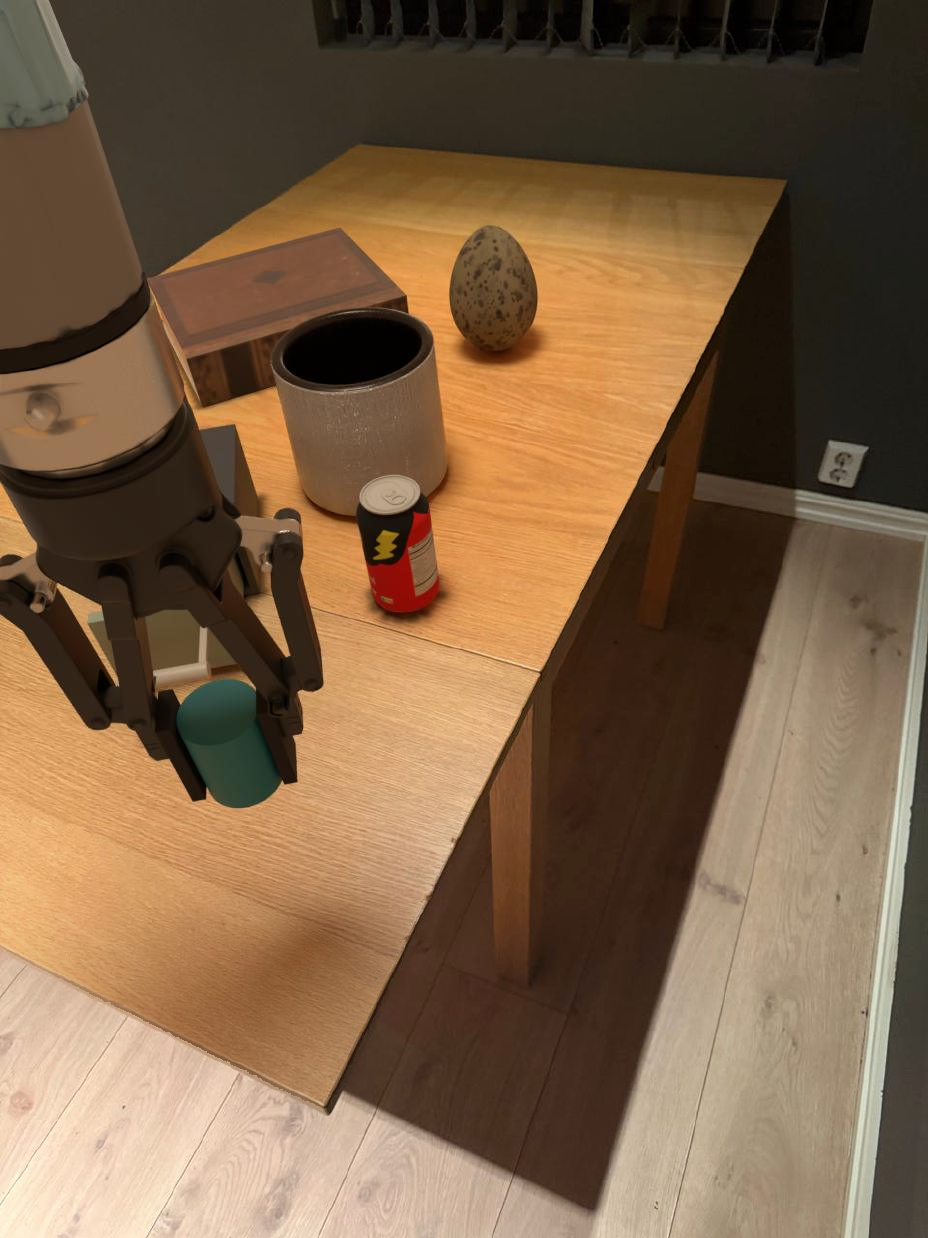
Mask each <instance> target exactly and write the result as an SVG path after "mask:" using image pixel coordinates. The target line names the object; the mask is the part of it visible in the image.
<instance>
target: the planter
mask: <svg viewBox="0 0 928 1238" xmlns="http://www.w3.org/2000/svg"><path fill="white" fill-rule="evenodd" d="M434 338H435V337H434V334H433V331H432V330H431V328H429V326H428V325H427V324H426V323H425V322H424V321H423V320H421V319H420V318H418V317H417V316H415V315H413V314H410V313H409V314H408V313H405V312H401V311H398V310H393V309H387V308H376V307H362V308H350V309H343V310H338V311H333V312H329V313H326V314H322V315H319V316H316V317H314V318H311V319H309V320H307V321H304V322H302V323H301V324H299V325H297V326H295V327H294V328H292V329H291V330H289V331H288V332H287V333H286V334H284V335H283V336H282V337H281V338H280V339H279V340H278V342H277V343H276V344H275V346H274V348H273V350H272V353H271V358H270V361H271V367H272V371H273V375H274V378H275V382H276V385H275V386H276V391H277V394H278V398H279V402H280V406H281V410H282V414H283V417H284V422H285V428H286V432H287V435H288V441H289V444H290V449H291V452H292V457H293V461H294V464H295V469H296V473H297V477H298V480H299V481H298V482H299V483H300V485H301V488H302V490H303V492H304V494H305V495H306V496H307V498H308V499H309V500H310V501H311V502H313V503H314V504H315V505H317V506H319V507H321V508H322V509H324V510H327V511H330V512H333V513H336V514H338V515H342V516H350V517H356V510H357V506H358V504H359V502H360V492H361V490H362V489H363V487H364V486H365V485H366V484H367V483H369V482H370V481H372V480H374V479H376V478H379V477H382V476H387V475H401V476H406V477H409V478H411V479H413V480H414V481H415V482H416V483H417V484H418V485H419V488H420V492H421V493H422V494H423V495H424V496H425V497H426V498H427V497H428V496H430V495H431V494H432V493H433V492H434V491H435V490H436V489H437V488H438V487H439V485H440V484H441V483H442V481H443V480H444V478H445V475H446V473H447V470H448V469H447V468H448V446H447V438H446V432H445V431H446V430H445V423H444V416H443V405H442V399H441V391H440V382H439V374H438V373H439V372H438V365H437V364H438V363H437V356H436V355H437V354H436V346H435V339H434Z"/></svg>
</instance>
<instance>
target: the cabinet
mask: <svg viewBox="0 0 928 1238" xmlns="http://www.w3.org/2000/svg"><path fill="white" fill-rule="evenodd" d="M199 430H200V433H201V436H202V439H203V442H204V445H205V448H206V451H207V454H208V457H209V460H210V462H211V465H212V468H213V471H214V474H215V477H216V480H217V483H218V486H219V488H220V490H221V491H222V493H223V494H224V495H225V496H226V497H227V498H228V499H229V500H230V501H231V502H233V503H234V504H235V505H236V506H237V508H238V509H239V511H240V513H241V515H243V516H251V517H259V518H260V514H259V513H260V512H259V497H258V493H257V491H256V488H255V487H256V486H255V484H254V481H253V478H252V475H251V471H250V467H249V464H248V461H247V458H246V454H245V451H244V448H243V445H242V442H241V438H240V435H239V432H238V428H237V426H236V423H231V424H226V425H225V424H224V425H221V426H213V427H207V428H201V429H200V428H199ZM237 552H238V555H239V558H240V561H241V564H242V567H243V569H244V597H245V596H249V595H254V594H260V593H261V569H260V566H259V565H257V564H256V563H255V562H254V560H253V555H252V553H251V551H250V550H248V549H247V548H245V547H241V546H239V548H238V550H237Z"/></svg>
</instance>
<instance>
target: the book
mask: <svg viewBox="0 0 928 1238" xmlns="http://www.w3.org/2000/svg"><path fill="white" fill-rule="evenodd" d="M146 278H147V282H148V285H149V288H150V290H151V293H152V295H153V297H154V299H155V302H156V305H157V308H158V310H159V313H160V316H161V319H162V323H163V326H164V328H165V331H166V334H167V337H168V340H169V343H170V345H171V347H172V349H173V350H174V352H175V354H176V357H177V358H178V361H179V362H180V365H181V367H182V368H183V370H184V372H185V374H186V377H187V378H188V380H189V382H190V385H191V386H192V388H193V390H194V392H195V395H196V397H197V398H198V400H199V402H200V404H201V407H202V408H205V407H209V406H212V405H214V404H218V403H221V402H224V401H228V400H231V399H234V398H238V397H241V396H244V395H247V394H251V393H254V392H258V391H260V390H263V389H267V388H270V387H273V386H276V382H275V378H274V375H273V371H272V367H271V361H270V358H271V353H272V350H273V348H274V346H275V344H276V343H277V342H278V340H279V339H280V338H281V337H282V336H283V335H284V334H286V333H287V332H288V331H289V330H291V329H292V328H294V327H295V326H297V325H299V324H301V323H302V322H304V321H307V320H309V319H311V318H314V317H316V316H319V315H322V314H326V313H329V312H333V311H338V310H343V309H350V308H362V307H376V308H387V309H393V310H398V311H401V312H405V313H408V314H410V311H409V304H408V303H409V302H408V297H407V293H405V291H404V290H403V289H401V288H400V286H399V285H397V283H395V281H394V280H393V279H392V278H391V277H390V276H389V275H388V274H387V273H385V272H384V271H383V269H382V268H381V267H380V266H379V265H378V264H377V263H376V262H375V261H374V260H373V259H372V258H371V257H370V256H369V255H368V254H367V253H366V252H365V251H364V250H363V249H362V248H361V247H360V246H359V245H358V244H357V243H356V241H354V239H352V238H351V237H350V235H349V234H347V233H346V232H345V230H343V228H341V227H337V228H333V229H330V230H325V231H322V232H318V233H314V234H310V235H306V236H303V237H298V238H295V239H291V240H287V241H283V242H280V243H276V244H272V245H269V246H264V247H261V248H257V249H254V250H249V251H246V252H242V253H239V254H235V255H231V256H227V257H224V258H219V259H216V260H212V261H207V262H205V263H201V264H196V265H193V266H188V267H185V268H181V269H178V270H174V271H169V272H167V273H163V274H159V275H154V276H151V277H146Z"/></svg>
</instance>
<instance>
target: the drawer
mask: <svg viewBox="0 0 928 1238" xmlns="http://www.w3.org/2000/svg"><path fill="white" fill-rule="evenodd" d="M227 569H228V571H229V573H230V577H231V580H232V582H233V584H234V585H235V587H236V588H237V590H238V591H239V592H240V594H241V595H242V596H243V598H244V597H245V596H244V569H243V567H242V564H241V561H240V558H239V555H238V552H236V554H235V555H234V557H233V559H232V561H231V563H230V565H229V567H228V568H227ZM244 599H245V598H244ZM145 619H146V626H147V633H148V640H149V647H150V654H151V660H152V667H153V674H154V676H156V685H155V689H160V688H165V687H172V686H176V685H182V684H187V683H192V682H193V683H194V682H199V681H203V680H209V679H211V678H212V669H215V668H221V667H226V666H232V665H237V663H236V662H235V661H234V660H233V658H232V657H231V656H230V654H229V653H228V652H227V651H226V649H225V648H224V647H223V646H222V644H221V643H220V642H219V641H218V639H217V638H216V637H215V636H214V634H213V633H212V632H211V631H210V629H209V628H208V627H207V628H202V627H201V626H200V625H199V624H198V623H197V621H196V620H195V619H194V618H193V616H192V615H191V614H190V613H189V611H188V610H163V611H160V612H158V613H155V614H152V615H150V616H146V617H145ZM86 624H87V625H88V627H89V629H90V631H91V633H92V635H93V637H94V638H95V640H96V642H97V643H98V646H99V647H100V649H101V651H102V652H103V654H104V656H105V658H106V660H107V661H108V663H109V665H110V667H111V668H112V670H113V672H114V674H115V676H116V677H117V671H116V666H115V661H114V655H113V650H112V645H111V641H109V640H108V638H107V633H106V628H105V622H104V617H103V612H102V610H99V611H94V612H89V613H88V616H87V623H86ZM116 686H119V682H118V677H117V678H116Z"/></svg>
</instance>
